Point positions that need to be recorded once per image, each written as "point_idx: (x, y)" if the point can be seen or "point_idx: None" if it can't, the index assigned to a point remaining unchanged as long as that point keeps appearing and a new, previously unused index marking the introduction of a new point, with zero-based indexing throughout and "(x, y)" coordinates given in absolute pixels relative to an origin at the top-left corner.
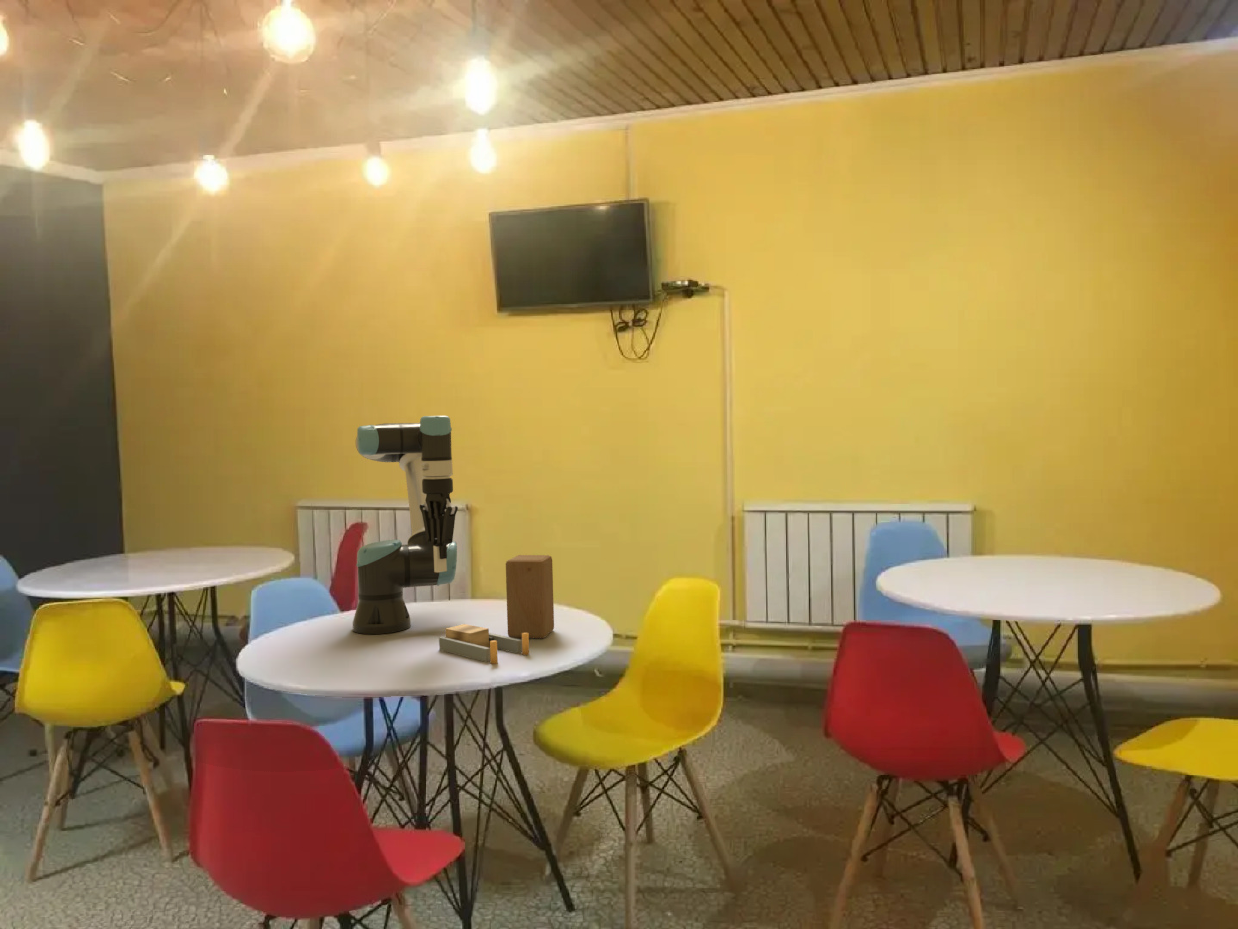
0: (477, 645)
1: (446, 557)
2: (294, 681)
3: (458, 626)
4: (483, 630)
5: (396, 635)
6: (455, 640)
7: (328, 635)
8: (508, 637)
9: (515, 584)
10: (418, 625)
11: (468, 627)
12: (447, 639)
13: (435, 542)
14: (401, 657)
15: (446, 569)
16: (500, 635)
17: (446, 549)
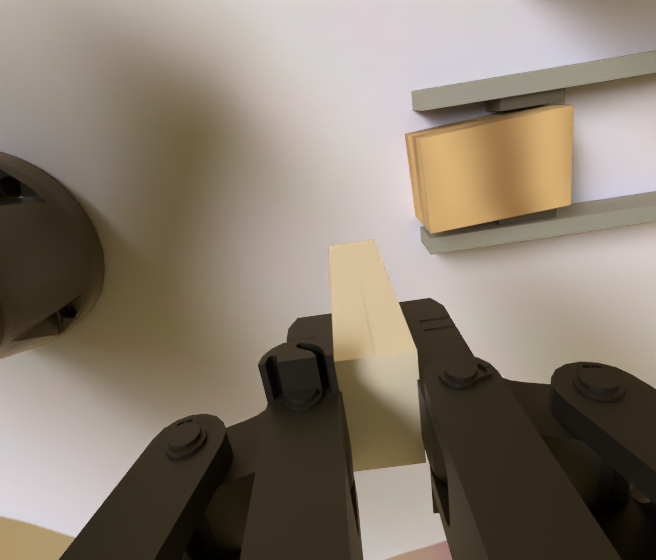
0: (628, 212)
1: (438, 305)
2: (413, 546)
3: (440, 179)
4: (571, 134)
5: (143, 256)
6: (509, 233)
7: (26, 394)
8: (647, 57)
9: None
10: (22, 127)
11: (486, 157)
12: (475, 245)
13: (352, 484)
14: None
15: (375, 245)
16: (594, 64)
17: (466, 347)
